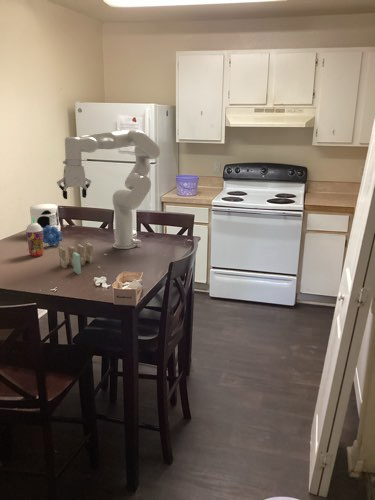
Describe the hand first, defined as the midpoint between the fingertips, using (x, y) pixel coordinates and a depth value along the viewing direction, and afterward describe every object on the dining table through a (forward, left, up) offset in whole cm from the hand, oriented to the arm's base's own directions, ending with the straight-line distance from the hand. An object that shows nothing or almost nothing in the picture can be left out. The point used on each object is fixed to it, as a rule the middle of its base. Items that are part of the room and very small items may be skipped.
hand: (74, 198), depth 216 cm
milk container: (+27, -42, -31) cm, 58 cm away
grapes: (+18, -18, -31) cm, 40 cm away
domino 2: (+1, +13, -30) cm, 33 cm away
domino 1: (+4, +16, -30) cm, 34 cm away
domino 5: (-7, +9, -30) cm, 32 cm away
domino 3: (-4, +25, -30) cm, 39 cm away
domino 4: (-3, +11, -30) cm, 33 cm away
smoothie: (+22, -2, -31) cm, 38 cm away
